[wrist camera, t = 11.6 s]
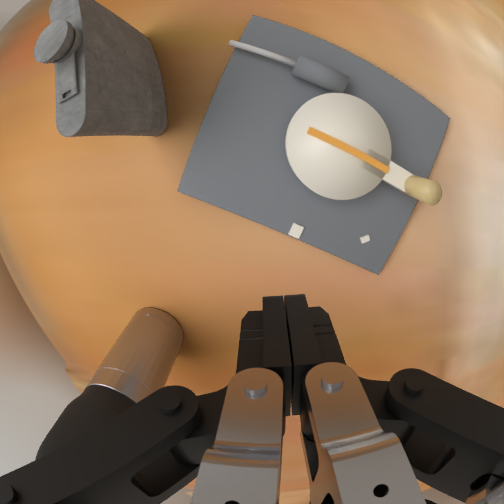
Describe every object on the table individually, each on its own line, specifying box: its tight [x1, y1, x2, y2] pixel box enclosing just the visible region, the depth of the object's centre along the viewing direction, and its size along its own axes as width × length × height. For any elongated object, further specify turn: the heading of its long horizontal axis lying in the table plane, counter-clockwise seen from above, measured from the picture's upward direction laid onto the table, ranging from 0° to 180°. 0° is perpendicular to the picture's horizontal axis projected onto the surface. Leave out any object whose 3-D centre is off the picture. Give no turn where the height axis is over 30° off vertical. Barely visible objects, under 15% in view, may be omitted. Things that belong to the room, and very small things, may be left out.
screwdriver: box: [229, 40, 350, 93], centre depth 25 cm, size 14×3×3 cm
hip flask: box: [34, 0, 168, 137], centre depth 19 cm, size 16×4×20 cm, turn 14°
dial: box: [285, 93, 442, 205], centre depth 26 cm, size 17×12×7 cm
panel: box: [177, 15, 450, 275], centre depth 30 cm, size 25×29×2 cm
